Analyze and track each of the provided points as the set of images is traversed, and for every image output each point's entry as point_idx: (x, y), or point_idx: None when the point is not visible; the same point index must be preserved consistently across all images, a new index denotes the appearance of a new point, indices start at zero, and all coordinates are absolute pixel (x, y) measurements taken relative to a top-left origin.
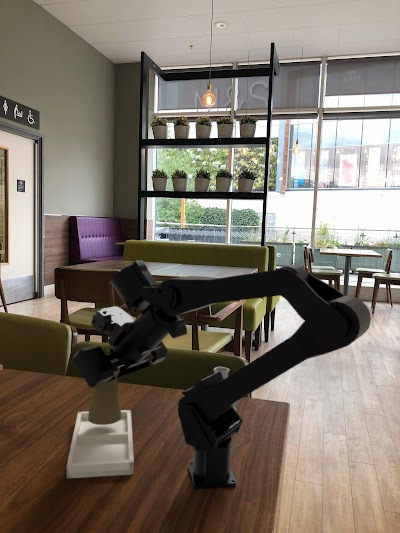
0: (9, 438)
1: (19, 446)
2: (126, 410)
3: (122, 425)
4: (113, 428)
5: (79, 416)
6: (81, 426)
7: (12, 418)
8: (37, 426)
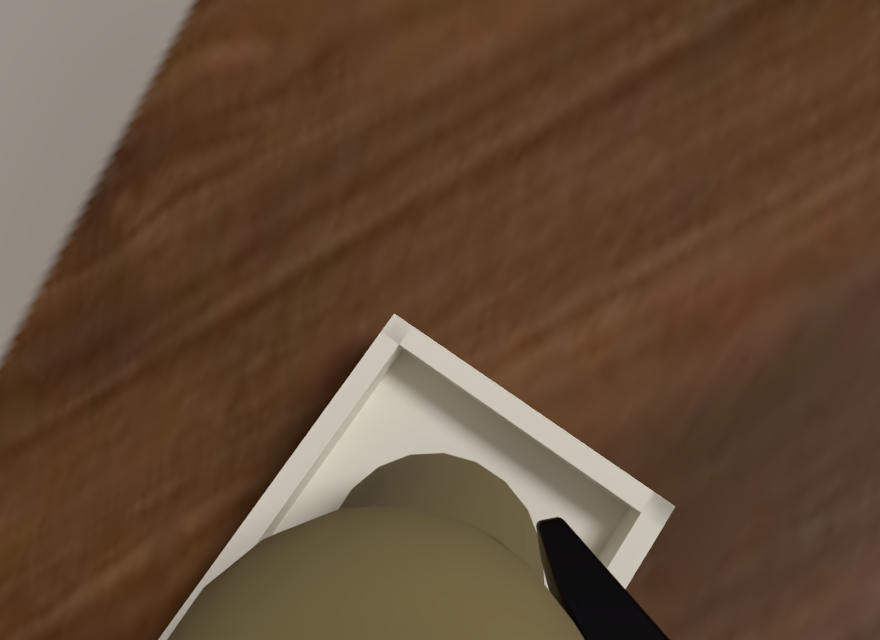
0: (67, 277)
1: (56, 382)
2: (648, 492)
3: (545, 583)
4: None
5: (364, 377)
6: (353, 431)
7: (182, 90)
8: (222, 242)
